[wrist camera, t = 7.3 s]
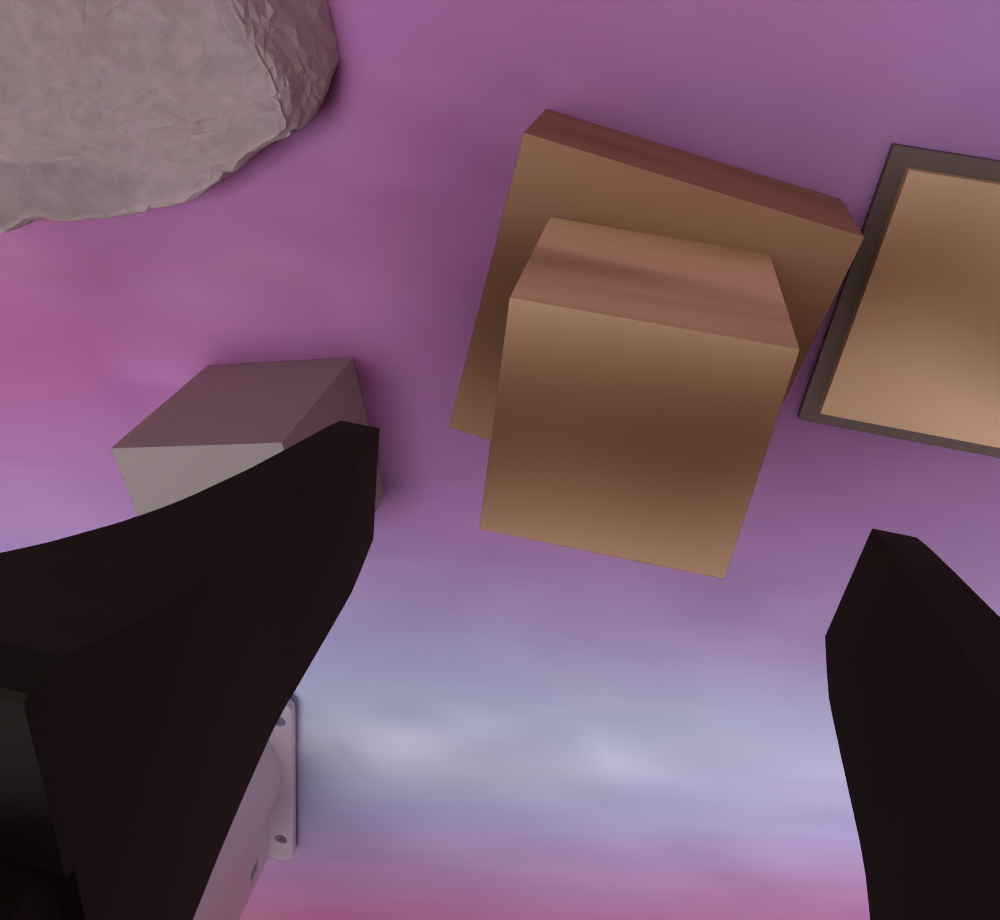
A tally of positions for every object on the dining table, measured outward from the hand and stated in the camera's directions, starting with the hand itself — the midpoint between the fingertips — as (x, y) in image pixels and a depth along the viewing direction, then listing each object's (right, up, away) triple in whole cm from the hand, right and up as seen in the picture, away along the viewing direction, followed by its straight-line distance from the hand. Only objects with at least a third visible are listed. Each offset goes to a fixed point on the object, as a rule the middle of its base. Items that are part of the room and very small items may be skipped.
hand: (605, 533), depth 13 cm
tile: (+10, +4, +8) cm, 13 cm away
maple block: (+1, +4, +6) cm, 7 cm away
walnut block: (+2, +5, +9) cm, 11 cm away
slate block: (-7, +2, +13) cm, 15 cm away
